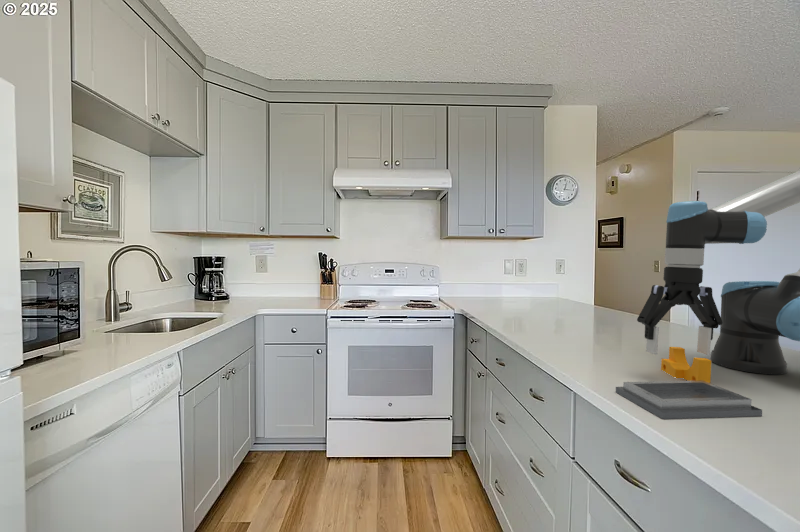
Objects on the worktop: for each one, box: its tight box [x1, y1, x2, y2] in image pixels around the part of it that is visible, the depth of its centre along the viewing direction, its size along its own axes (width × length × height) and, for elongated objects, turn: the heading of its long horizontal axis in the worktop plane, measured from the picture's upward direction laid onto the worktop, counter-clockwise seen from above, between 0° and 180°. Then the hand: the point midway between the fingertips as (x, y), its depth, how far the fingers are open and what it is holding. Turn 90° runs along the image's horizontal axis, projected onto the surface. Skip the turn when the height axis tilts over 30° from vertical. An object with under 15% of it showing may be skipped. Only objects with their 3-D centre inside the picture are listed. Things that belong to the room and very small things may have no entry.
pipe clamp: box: [660, 346, 712, 383], centre depth 90 cm, size 12×4×6 cm, turn 171°
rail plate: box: [615, 380, 763, 420], centre depth 75 cm, size 20×13×3 cm, turn 95°
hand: (677, 353), depth 91 cm, fingers open, 13 cm apart
